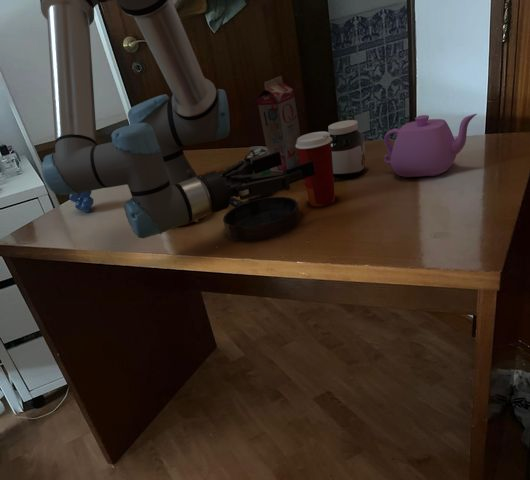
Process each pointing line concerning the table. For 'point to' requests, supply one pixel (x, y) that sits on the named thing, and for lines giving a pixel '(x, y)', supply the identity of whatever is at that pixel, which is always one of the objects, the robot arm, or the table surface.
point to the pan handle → (236, 202)
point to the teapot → (425, 146)
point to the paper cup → (318, 167)
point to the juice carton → (280, 122)
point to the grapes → (82, 201)
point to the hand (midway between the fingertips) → (295, 162)
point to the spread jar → (347, 149)
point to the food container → (255, 154)
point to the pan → (262, 218)
